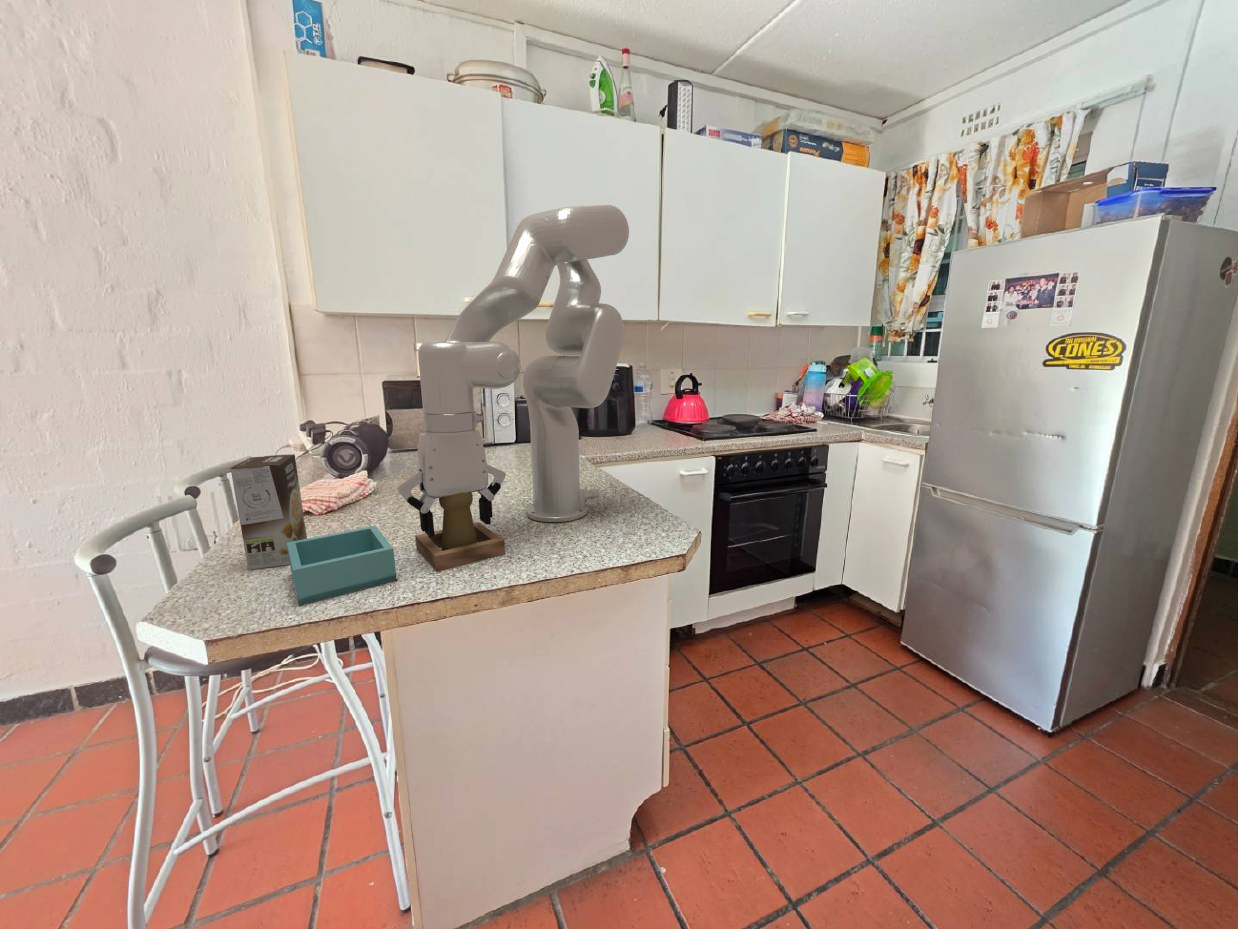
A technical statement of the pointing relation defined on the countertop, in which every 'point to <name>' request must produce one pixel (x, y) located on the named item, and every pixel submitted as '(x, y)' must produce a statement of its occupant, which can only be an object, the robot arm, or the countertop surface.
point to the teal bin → (340, 564)
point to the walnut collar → (460, 549)
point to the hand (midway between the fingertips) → (458, 528)
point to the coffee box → (268, 508)
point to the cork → (457, 521)
